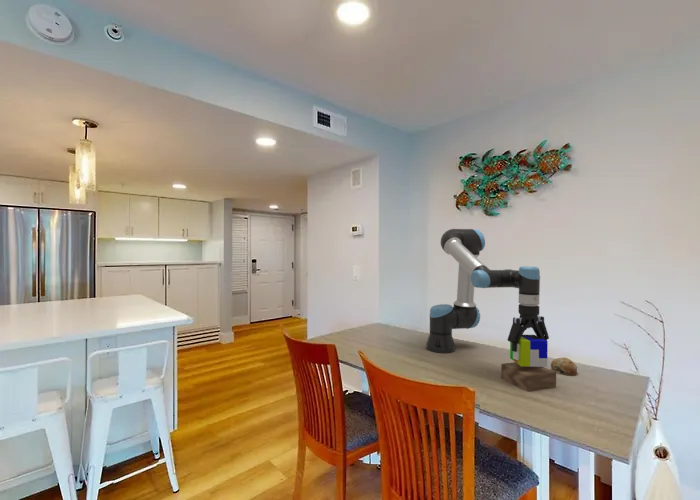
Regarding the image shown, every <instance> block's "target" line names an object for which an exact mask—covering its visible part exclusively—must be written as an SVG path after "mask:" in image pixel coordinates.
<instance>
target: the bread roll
mask: <svg viewBox="0 0 700 500" xmlns="http://www.w3.org/2000/svg"><path fill="white" fill-rule="evenodd" d="M550 368H551V370H552V371H555V372H556V374H560V375H564V376H569V377H570V376H571V377H572V376H576V375H577V372H578V366H577V364H576V363H575V362H574V361H572V360H571V359H570V358H568V357H558V358H554V359H553V360H552V361H551V363H550Z"/></svg>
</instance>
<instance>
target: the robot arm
mask: <svg viewBox="0 0 700 500" xmlns="http://www.w3.org/2000/svg"><path fill="white" fill-rule="evenodd" d="M440 246H441V249H442V250H443V251H444V253H446V254H447V255H450V256H451V257H452V258H453V259H454V260H455V261H456V262H457V263H458V274H457V289H456V292H457V293H456V300H455V301H454V302H453V306H452V304H448V303H446V304H445V303H444V304H443V303H442V304H441V303H440V304H435V305H432V306H431V307H430V309H429V315H428V316H429V335H428V337H427V340H426V343H425V348H426V349H427V350H428V351H430V352H434V353H441V354H447V353H453V352H455V351H456V344H455V340H454V338H453V330H462V329H463V330H464V329H467V330H469V329H474V328H476V327H477V326H478V325H479V324H480V321H481V313H480V309H479V307H477V304H476V303H475V301H474V299H475V298H474V296H475V288H477V289H478V288H480V289H489V288H490V289H492V288H493V289H494V288H513V289H514V288H515V289H518V303H519V304H518V314H519V317H513V318H512V324H511V328H510V330H509V334H508V337H507V341H508V342H512V351H513V359H516V360H520V344H518V342H519V340H520V338H521V337H522V335H524V332H525V331H526V330H527V329H530V328H531V329H532V330H533V331H534V332H533V333H534V335H536V336H538V337H540V338H542V339H544V340H546V341H548V340H549V339H550V337H549V334H548V330H547V326H546V323H545V317H544V316H541V315H540V291H541V290H540V288H541V281H540V280H541V275H540V273H541V272H540V268H539V267H538V266H527V265H526V266H525V265H523V266H519V268H518V270H517V269H516V270H515V269H511V268H510V269H508V268H505V269H490V268H488V267H487V266H486V265H485V264H484V263H483V262H482V261H481V260H480V259H479V258H478V257H479V256H480V252H482V251H484V248H485V246H486V239H485V235H484V234H483V233H482V231H480V229H474V228H451V229H447V230H446V231H445V232H444V233H443V234H442V236H441V238H440Z"/></svg>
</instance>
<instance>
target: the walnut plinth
mask: <svg viewBox="0 0 700 500" xmlns="http://www.w3.org/2000/svg"><path fill="white" fill-rule="evenodd" d="M500 366H501V367H500V368H501V369H500V372H501V373H500V376H501V377H500V378H501V379H502V380H504V381H506V382H508V383H510V384H512V385H514V386H516V387H518V388H520V389H521V390H524V391H526V392H535V391H540V390H548V389H554V388H556V387H557V373H556V372H555V371H553V370H552V369H549V368H547V367H527V366H520V365H519V364H517V363H516V362H515V361H513V362H505V363H501V364H500Z"/></svg>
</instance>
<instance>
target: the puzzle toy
mask: <svg viewBox="0 0 700 500" xmlns="http://www.w3.org/2000/svg"><path fill="white" fill-rule="evenodd" d="M509 344H510V347H509V351H510V352H509V358H510V360H512V361H513V362H516V363H517V364H519V365H520V366H527V367H545V368H547V367H548V345H549V344H548V340H547V341H546V340H544V339H542V338H540V337H538V336H537V335H536V334H523V335H522V337H521V338H520V340H519V342H518V344H520V360H516V359H513V351H512V342H510V343H509Z"/></svg>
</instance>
